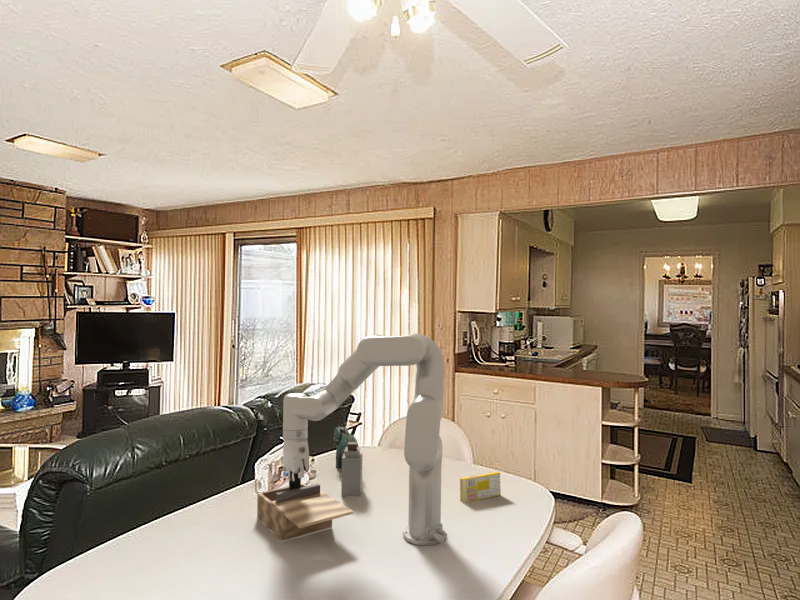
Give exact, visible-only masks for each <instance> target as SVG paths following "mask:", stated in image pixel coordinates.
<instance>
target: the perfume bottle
mask: <svg viewBox="0 0 800 600" xmlns="http://www.w3.org/2000/svg"><path fill="white" fill-rule="evenodd" d="M357 443H358V441H357V442H348V444H347V445H348V447H346V448H345V450H344V454H343V457H342V469H341V491H340V492H341V493H340V494H341V495H340V496H341V497H361V496H362V495H361V494H362V491H363V452H361V447H360V446H359V447H357ZM359 452H360V453H359Z"/></svg>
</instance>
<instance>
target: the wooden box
mask: <svg viewBox="0 0 800 600" xmlns="http://www.w3.org/2000/svg"><path fill="white" fill-rule="evenodd" d="M305 486H308V484H306V483H303V482H301V487H305ZM287 490H289V485H288V486H285V487H279V488H276V489H270V490H265V491H260V492H258V493H257V499H256V500H257V502H256V503H257V504H256V505H257V508H256V510H257V511H256V512H257V514H256V515H257V516H256V517H257V520H258V521H259V522H261V524H263V525H264V527H265V528H267V529H268V530H269V531H270V532H271V533H272V534H273V535H274V536H276V538H277V539H279V540H280V542H282V543H286V542H288V541H293V540H296V539H299V538H303V537H307V536H310V535H313V534H319V533H321V532H324V531H329V530H332V529H333V519H332V520H328V521H325V522H321V523H317V524H313V525H310V526H306V527H302V528H298V527H297V526H296V525H295V524H294V523H292V522H291V521H290V520H289V519H288V518H286V517H285V516H284V515H283V514H282V513H281V512H279V511H278V510H277V509H276V508H275V507H273V506H272V505H271V501H275V500H276V493H278V492H282V491H287Z"/></svg>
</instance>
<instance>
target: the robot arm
mask: <svg viewBox="0 0 800 600" xmlns="http://www.w3.org/2000/svg"><path fill="white" fill-rule="evenodd" d="M444 360H445V359H444V355H443V353H442V351H441V349H440V347H439V345H438V344H437V343H436V342H435V341H434V340H433V339H431V338H430V337H429V336H426V335H424V334H422V333H417V332H415V333H409V334H408V335H394V336H393V335H391V336H384V335H382V334H377V333H376V334H371V335H369V336H365V337H364V338H362V339H361V340H360V341H359V343H358V345H357V348H356V349H355V350H354V351H353V352H352V354H351V355H349V356H348V357H347V358H346V359H345V360H344V361H343V362H342V363H341V364H340V365H339V368H338V371H337V374H336V375H335V377H333V379H332V380H330V382H329V383H328V384H326V386H324V388H323V389H321V390H320V392H317V393H316V394H314V395H311V396H308V395H307V394H305V393H302V392H292V393H287V394H285V395H284V397H283V407H282V412H283V413H282V440H283V449H282V451H283V452H282V464H283V467H284V468H286V470H287V474H288V486H289V490H292V489H296V488H301V484H302V479H303V478H305V472H309V471H310V450H309V441H308V438H309V437H308V436H309V434H308V433H309V432H308V431H309V430H308V428H309V427H308V426H309V425H308V424H309V423H308V421H313V422H318V421H321V420H324V419H325V418H326V417H327V416H329V415H331V414H332V413H334V411H336V410H337V409H338V407H340V405H341V404H343V403H344V402H345V401H346V400H347V399H348V398H349V397H350V396H351V395H352V394H353V393H354V392H355V391H356V390H357V389H358V388H359V387H360V386H361V385H362V384H363V383H364V382H365V381H366V380H367V379H368V378H369V377H370V376H371V375H372V374H373V373H374V372H375V371H376V370H377V369H378V368H379V367H399V366H401V367H404V366H405V367H409V366H416V372H415V373H416V374H415V387H414V396H413V401H412V402H411V403H410V405H409V406H408V409H407V412H406V419H405V434H404V445H403V446H404V447H403V448H404V449H403V453H404V454H403V455H404V459H405V462H406V463H407V465H408V466H409V469H408V473H409V474H408V526H406V527H405V528H404V529H403V531H402V532H403V533H402V535H403V538H404V539H405V540H406V541H407V542H409V543H411V544H413V545H417V546H418V545H419V546H433V545H438V544H440V543H441V544H442V543H443V542H444V540H445V539H446V538H447V537H448V533H447V532H446V530H445V529H444V528H443V523H442V522H441V521H442V518H441V516H442V508H441V507H442V466H443V465H442V463H443V441H442V438H441V436H440V430H441V429H440V427H441V420H442V419H443V418H442V417H443V415H444V395H445V394H444V393H445V392H444V391H445V361H444Z"/></svg>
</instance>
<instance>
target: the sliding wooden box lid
mask: <svg viewBox="0 0 800 600" xmlns="http://www.w3.org/2000/svg"><path fill="white" fill-rule="evenodd" d="M271 505H272V506H273V507H275V508H276V509H277V510H278V511H279V512H281V513H282V514H283V515H284V516H285V517H286V518H288V519H289V520H290V521H291V522H292V523H294V524H295V525H296V526H297V527H298V528H302V527H306V526H310V525H313V524H317V523H321V522H325V521H328V520H332V521H333V520H336V519H339V518H344V517H346V516H351V515H353V514H354V512H353V510H352V509H350V508H349V507H347V506H345V505H344V504H343V503H341V502H340V501H338V500H337V499H335V498H333V497H332V496H330V495H328V493H326V492H324V491H322V490H321V484H319V483H315V484H310V485H307V486H305V487H301V488H296V489H292V490H287V491H282V492H278V493H276V500H275V501H271Z"/></svg>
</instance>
